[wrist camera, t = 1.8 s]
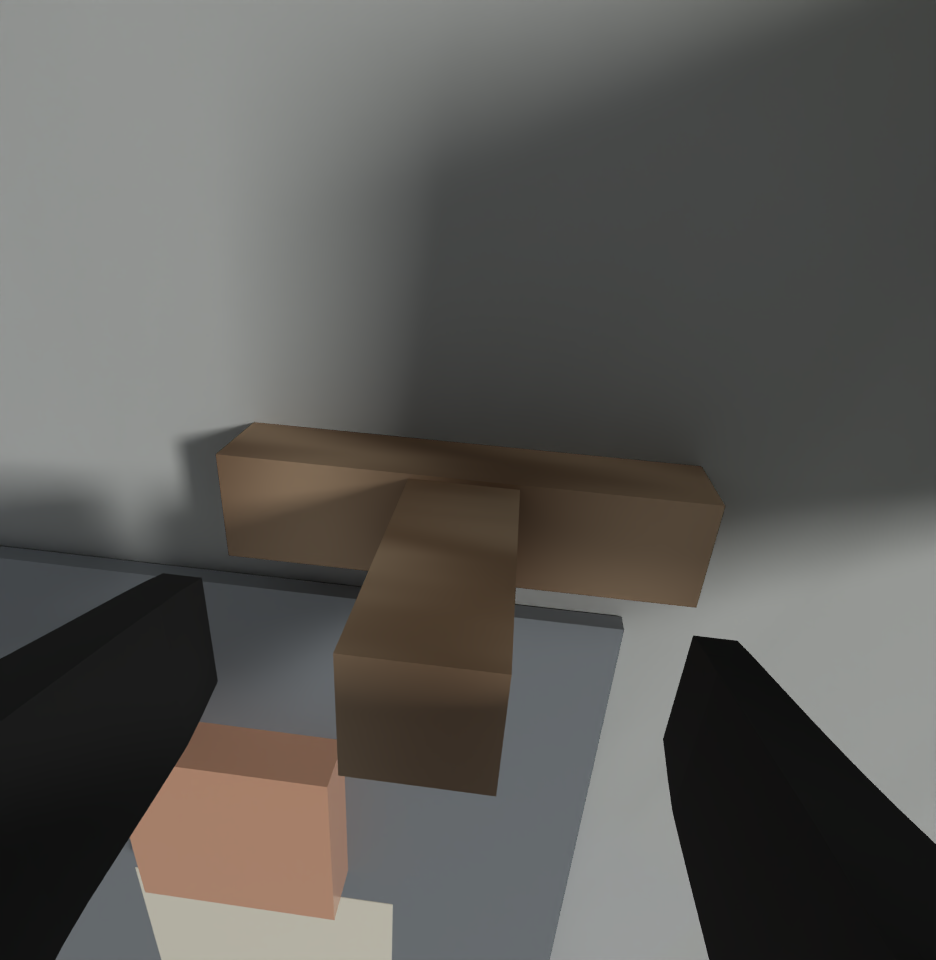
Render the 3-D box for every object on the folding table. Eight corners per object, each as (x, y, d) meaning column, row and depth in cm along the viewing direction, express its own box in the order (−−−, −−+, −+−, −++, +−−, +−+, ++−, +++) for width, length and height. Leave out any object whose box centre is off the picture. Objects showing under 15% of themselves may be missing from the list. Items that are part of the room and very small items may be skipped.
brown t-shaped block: (265, 511, 15) (71, 744, 9) (256, 419, 14) (29, 611, 8) (675, 555, 14) (786, 840, 8) (699, 463, 13) (847, 708, 7)
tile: (170, 845, 20) (145, 892, 19) (139, 714, 18) (107, 757, 16) (348, 870, 20) (334, 920, 18) (343, 740, 17) (327, 787, 16)
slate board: (57, 974, 26) (48, 989, 25) (-133, 530, 16) (-153, 540, 16) (526, 1048, 25) (526, 1065, 24) (621, 616, 15) (624, 630, 15)
